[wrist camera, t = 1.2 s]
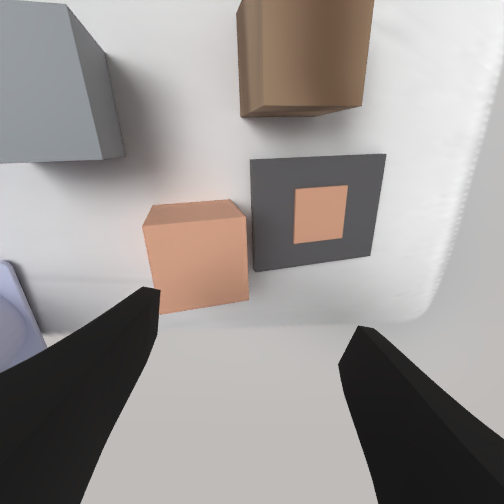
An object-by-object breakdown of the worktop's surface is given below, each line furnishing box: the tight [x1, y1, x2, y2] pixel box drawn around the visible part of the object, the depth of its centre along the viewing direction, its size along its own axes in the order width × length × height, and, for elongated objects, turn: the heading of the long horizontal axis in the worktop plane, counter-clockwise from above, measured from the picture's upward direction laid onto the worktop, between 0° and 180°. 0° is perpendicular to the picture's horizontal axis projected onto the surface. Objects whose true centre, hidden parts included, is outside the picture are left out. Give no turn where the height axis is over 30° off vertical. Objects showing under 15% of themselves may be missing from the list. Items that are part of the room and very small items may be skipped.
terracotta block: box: [142, 199, 249, 315], centre depth 16 cm, size 5×5×5 cm
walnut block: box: [236, 0, 374, 117], centre depth 13 cm, size 5×5×5 cm
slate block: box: [0, 0, 126, 164], centre depth 11 cm, size 5×5×5 cm
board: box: [250, 154, 386, 272], centre depth 19 cm, size 10×8×1 cm
